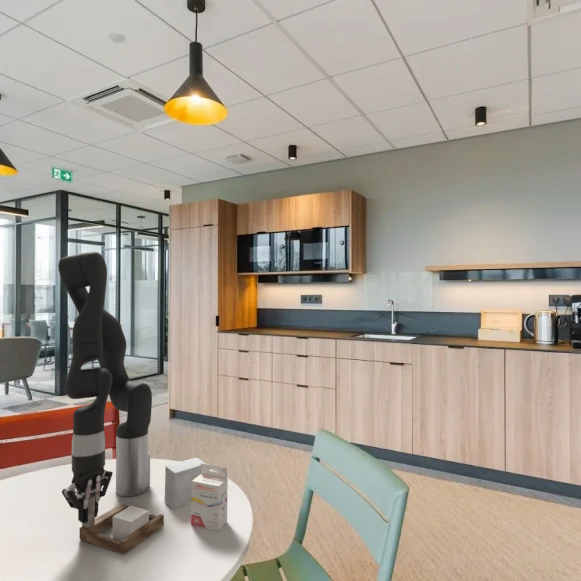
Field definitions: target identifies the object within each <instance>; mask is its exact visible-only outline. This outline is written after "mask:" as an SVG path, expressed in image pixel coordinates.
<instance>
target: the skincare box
mask: <svg viewBox="0 0 581 581" xmlns="http://www.w3.org/2000/svg"><path fill="white" fill-rule="evenodd" d="M202 463H203V464H207V463H206V462H205V461H203V460H201V459H200V458H198V457H193V458H190V459H186V460H182V461H179V462H175V463H172V464H168V465H166V466H165V470H164V471H165V472H164V473H165V476H164V478H165V479H164V480H165V482H164V502H165V503H166V504H167V505H168V506H170V507H171V508H172V509H175V510H176V509H178V508H181V507H184V506H186V505H191V491H192V480H194V479H195V478H196V477H198V476H199V475H200V474H201V464H202Z"/></svg>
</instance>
